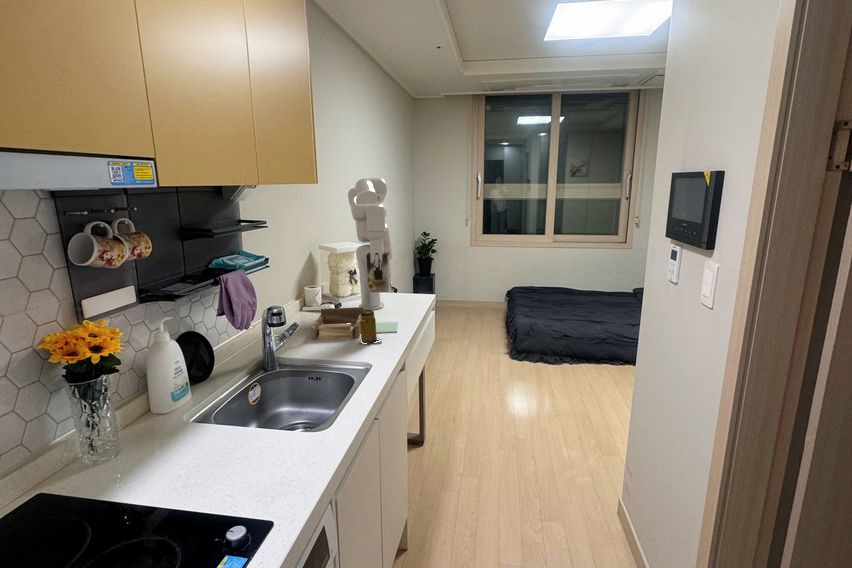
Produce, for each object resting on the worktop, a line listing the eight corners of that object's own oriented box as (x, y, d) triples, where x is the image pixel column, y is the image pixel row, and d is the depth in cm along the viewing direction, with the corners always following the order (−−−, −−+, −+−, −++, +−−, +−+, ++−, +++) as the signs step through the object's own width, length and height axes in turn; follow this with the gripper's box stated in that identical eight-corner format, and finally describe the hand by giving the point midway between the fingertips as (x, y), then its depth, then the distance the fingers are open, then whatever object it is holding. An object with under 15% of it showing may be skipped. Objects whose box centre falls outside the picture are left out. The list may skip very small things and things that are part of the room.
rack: (322, 323, 198) (321, 308, 196) (365, 321, 198) (363, 307, 197) (311, 340, 177) (310, 323, 175) (359, 338, 177) (358, 321, 176)
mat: (368, 324, 195) (368, 323, 195) (398, 322, 195) (397, 321, 195) (365, 333, 182) (365, 332, 182) (396, 332, 182) (396, 331, 182)
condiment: (362, 338, 177) (359, 309, 174) (383, 337, 177) (381, 309, 174) (359, 344, 170) (357, 315, 167) (381, 344, 170) (379, 314, 167)
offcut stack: (320, 336, 182) (319, 324, 181) (354, 335, 182) (353, 323, 181) (318, 340, 178) (317, 327, 176) (353, 338, 177) (352, 326, 176)
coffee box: (367, 292, 182) (365, 254, 179) (371, 289, 189) (368, 252, 185) (389, 292, 181) (387, 254, 178) (392, 289, 188) (390, 251, 184)
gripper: (369, 233, 188) (372, 274, 192) (365, 238, 171) (368, 282, 175) (387, 232, 188) (389, 273, 192) (384, 237, 172) (387, 281, 175)
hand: (379, 277), depth 184 cm, fingers closed on coffee box, 6 cm apart
